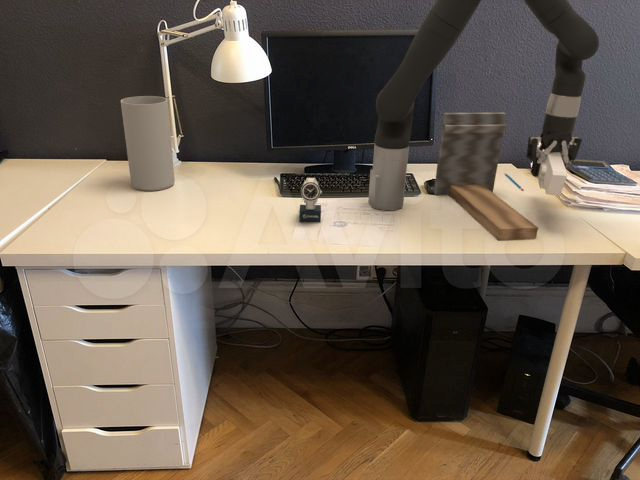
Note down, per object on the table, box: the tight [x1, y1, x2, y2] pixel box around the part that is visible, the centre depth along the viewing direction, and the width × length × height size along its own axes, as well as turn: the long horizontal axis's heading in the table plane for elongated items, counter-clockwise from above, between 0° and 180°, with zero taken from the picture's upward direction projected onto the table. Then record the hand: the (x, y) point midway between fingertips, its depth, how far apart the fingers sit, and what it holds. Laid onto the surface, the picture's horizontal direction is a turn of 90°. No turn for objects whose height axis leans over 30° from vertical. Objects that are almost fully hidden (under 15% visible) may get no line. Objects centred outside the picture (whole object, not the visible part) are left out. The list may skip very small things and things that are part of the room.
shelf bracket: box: [537, 142, 568, 197], centre depth 144 cm, size 6×25×13 cm, turn 169°
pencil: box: [504, 172, 525, 192], centre depth 173 cm, size 1×17×1 cm, turn 1°
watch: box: [298, 177, 323, 223], centre depth 138 cm, size 6×8×11 cm
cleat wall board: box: [433, 111, 539, 241], centre depth 142 cm, size 18×34×24 cm, turn 10°
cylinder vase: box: [120, 95, 176, 192], centre depth 156 cm, size 12×12×25 cm
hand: (546, 175), depth 142 cm, fingers closed on shelf bracket, 6 cm apart
